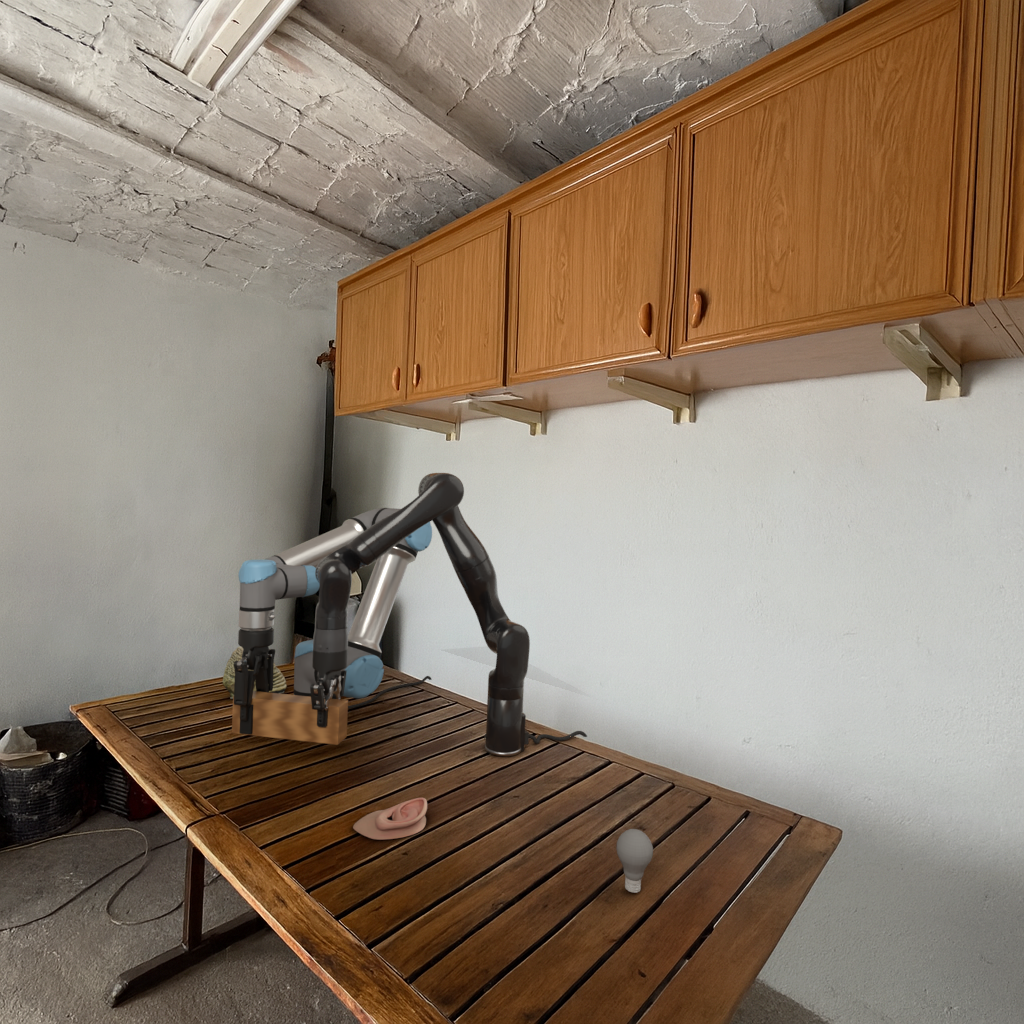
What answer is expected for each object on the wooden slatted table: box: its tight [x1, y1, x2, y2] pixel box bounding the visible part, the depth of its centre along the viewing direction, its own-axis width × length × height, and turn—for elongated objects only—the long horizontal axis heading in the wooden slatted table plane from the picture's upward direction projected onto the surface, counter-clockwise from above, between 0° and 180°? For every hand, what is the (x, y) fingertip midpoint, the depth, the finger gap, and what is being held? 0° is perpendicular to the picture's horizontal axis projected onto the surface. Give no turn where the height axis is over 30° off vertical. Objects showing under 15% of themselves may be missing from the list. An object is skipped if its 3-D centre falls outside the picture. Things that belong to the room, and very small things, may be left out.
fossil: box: [222, 646, 288, 699], centre depth 198 cm, size 9×18×15 cm, turn 132°
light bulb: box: [615, 828, 654, 894], centre depth 106 cm, size 6×6×10 cm
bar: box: [231, 691, 349, 746], centre depth 144 cm, size 25×5×8 cm, turn 81°
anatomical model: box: [352, 797, 428, 841], centre depth 123 cm, size 13×4×12 cm
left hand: (252, 728), depth 145 cm, fingers closed on bar, 5 cm apart
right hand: (327, 721), depth 142 cm, fingers closed on bar, 5 cm apart
